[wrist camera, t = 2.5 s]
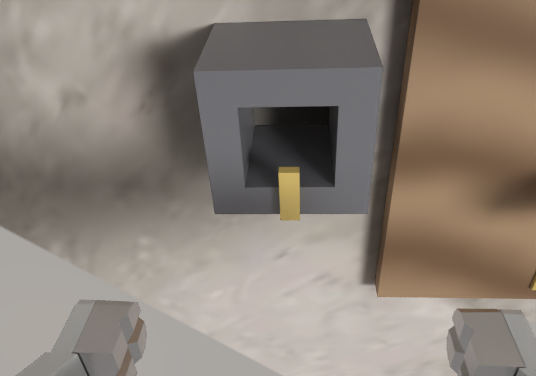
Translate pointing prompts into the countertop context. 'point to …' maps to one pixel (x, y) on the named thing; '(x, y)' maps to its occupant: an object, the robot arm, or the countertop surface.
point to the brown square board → (464, 155)
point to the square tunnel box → (289, 136)
